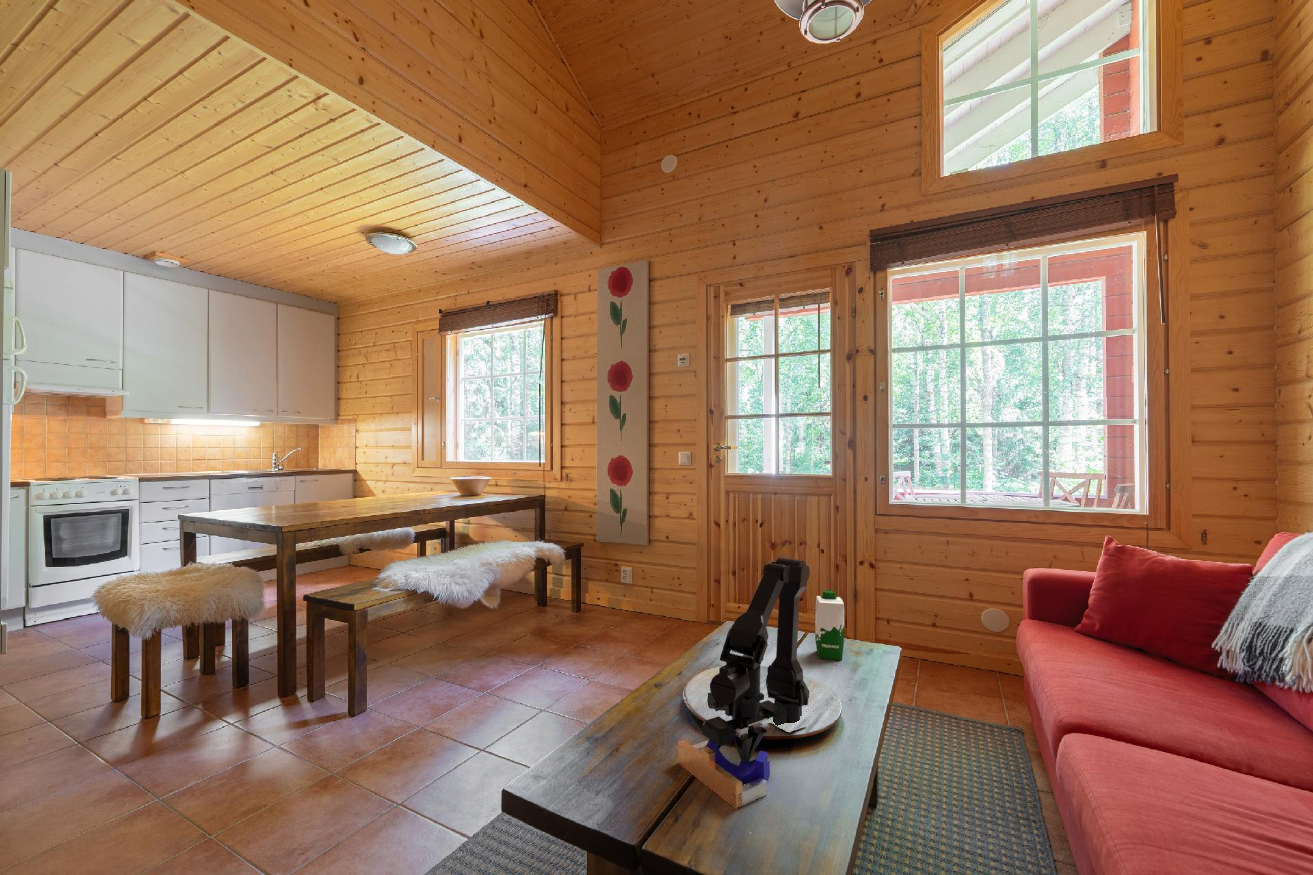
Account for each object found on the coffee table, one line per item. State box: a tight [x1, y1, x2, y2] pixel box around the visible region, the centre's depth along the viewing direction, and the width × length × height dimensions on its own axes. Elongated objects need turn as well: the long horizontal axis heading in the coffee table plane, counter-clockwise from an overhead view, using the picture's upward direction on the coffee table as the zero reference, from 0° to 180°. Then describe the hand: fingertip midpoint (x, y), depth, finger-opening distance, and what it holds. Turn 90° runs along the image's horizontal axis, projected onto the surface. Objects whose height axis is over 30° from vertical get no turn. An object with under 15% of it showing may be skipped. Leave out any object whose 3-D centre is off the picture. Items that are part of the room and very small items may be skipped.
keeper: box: [677, 739, 768, 810], centre depth 114 cm, size 8×18×6 cm, turn 34°
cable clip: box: [705, 738, 771, 785], centre depth 114 cm, size 12×4×6 cm, turn 65°
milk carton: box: [814, 589, 845, 661], centre depth 183 cm, size 9×9×20 cm
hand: (744, 762), depth 118 cm, fingers closed
